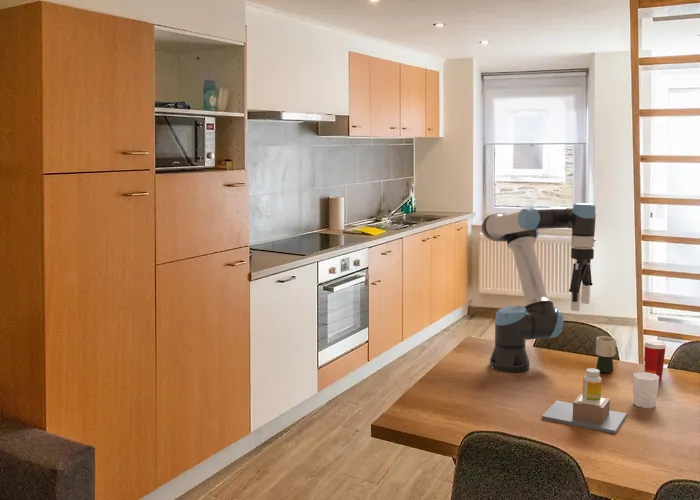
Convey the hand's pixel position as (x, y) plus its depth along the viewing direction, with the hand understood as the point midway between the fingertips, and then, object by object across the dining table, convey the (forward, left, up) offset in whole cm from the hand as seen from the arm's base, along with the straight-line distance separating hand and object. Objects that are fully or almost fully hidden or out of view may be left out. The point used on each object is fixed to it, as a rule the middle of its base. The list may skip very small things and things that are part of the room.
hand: (580, 307), depth 241 cm
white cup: (+24, -8, -29) cm, 38 cm away
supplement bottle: (+12, -30, -23) cm, 40 cm away
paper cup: (+22, +21, -29) cm, 42 cm away
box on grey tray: (+10, -30, -29) cm, 43 cm away
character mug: (+5, +21, -29) cm, 36 cm away
